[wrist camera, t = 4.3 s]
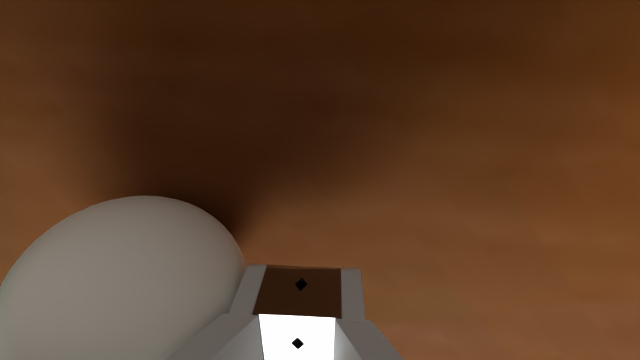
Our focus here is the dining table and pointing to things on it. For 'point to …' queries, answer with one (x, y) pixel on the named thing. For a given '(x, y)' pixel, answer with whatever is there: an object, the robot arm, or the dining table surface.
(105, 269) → the cue ball
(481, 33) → the dining table surface
